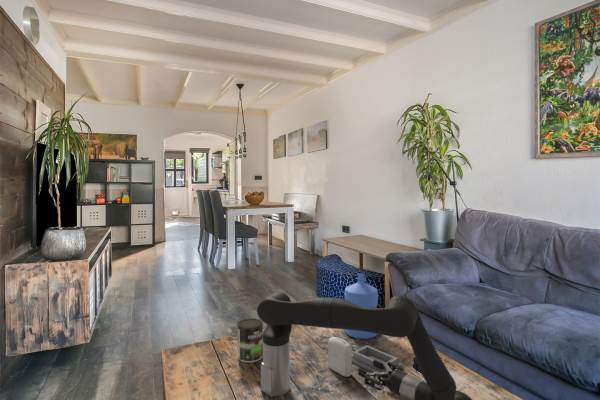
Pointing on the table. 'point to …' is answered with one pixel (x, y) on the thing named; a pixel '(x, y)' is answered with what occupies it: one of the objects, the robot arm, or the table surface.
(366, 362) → the dock
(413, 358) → the computer mouse
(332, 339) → the photo printer
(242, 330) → the coffee can
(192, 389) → the table surface
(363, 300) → the water jug
